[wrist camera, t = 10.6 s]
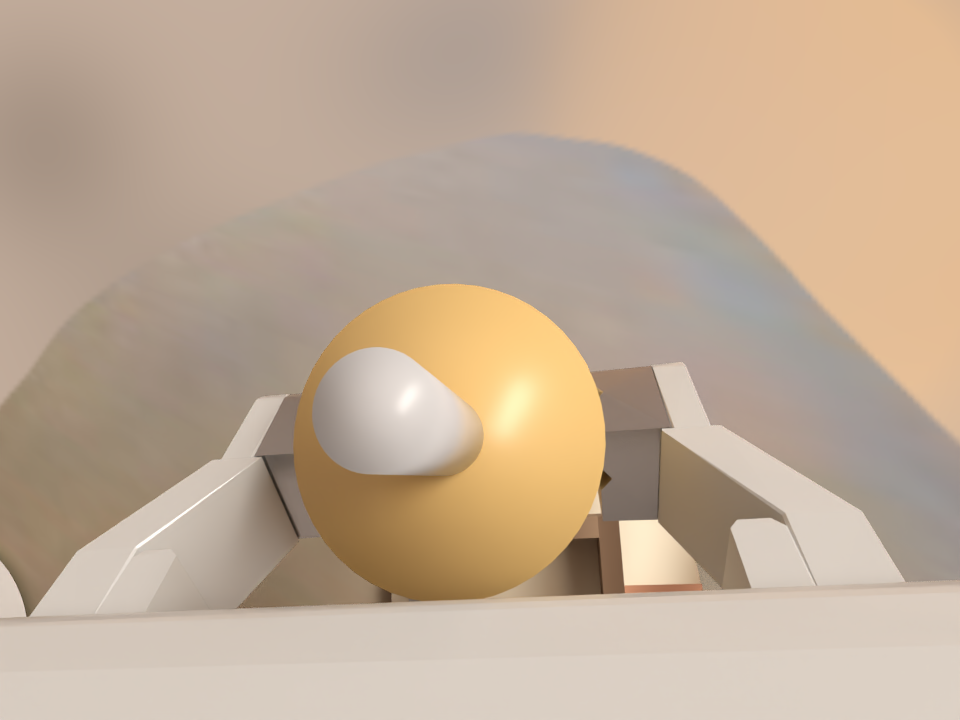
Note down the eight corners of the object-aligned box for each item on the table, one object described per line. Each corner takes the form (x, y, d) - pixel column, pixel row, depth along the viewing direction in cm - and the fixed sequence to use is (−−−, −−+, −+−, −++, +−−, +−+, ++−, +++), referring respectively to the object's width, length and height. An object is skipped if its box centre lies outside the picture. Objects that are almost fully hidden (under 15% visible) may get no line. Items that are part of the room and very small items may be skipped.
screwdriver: (444, 535, 17) (124, 691, 5) (437, 396, 18) (149, 202, 5) (587, 528, 17) (664, 679, 4) (573, 384, 18) (606, 145, 5)
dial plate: (399, 754, 32) (380, 788, 29) (395, 448, 35) (376, 444, 32) (714, 757, 30) (734, 794, 27) (680, 433, 33) (694, 428, 30)
